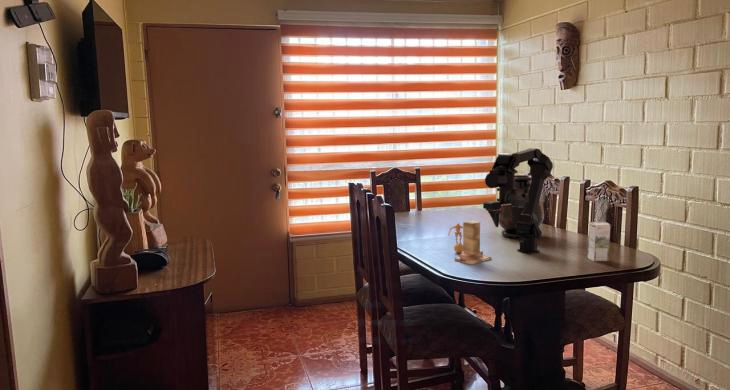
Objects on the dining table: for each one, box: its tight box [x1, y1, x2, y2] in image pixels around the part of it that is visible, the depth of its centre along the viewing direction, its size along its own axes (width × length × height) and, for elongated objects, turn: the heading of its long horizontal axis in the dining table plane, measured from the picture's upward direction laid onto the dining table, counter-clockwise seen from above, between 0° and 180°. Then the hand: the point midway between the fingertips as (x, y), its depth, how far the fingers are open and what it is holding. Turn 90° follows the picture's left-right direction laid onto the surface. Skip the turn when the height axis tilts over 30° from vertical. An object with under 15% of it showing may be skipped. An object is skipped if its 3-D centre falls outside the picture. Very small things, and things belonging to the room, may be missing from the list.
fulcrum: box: [454, 250, 492, 265], centre depth 209 cm, size 12×8×3 cm, turn 128°
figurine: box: [448, 223, 463, 254], centre depth 221 cm, size 8×6×12 cm
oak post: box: [462, 220, 481, 255], centre depth 208 cm, size 4×4×12 cm
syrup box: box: [587, 221, 611, 263], centre depth 205 cm, size 6×6×14 cm
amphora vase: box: [499, 174, 545, 240], centre depth 250 cm, size 22×22×28 cm
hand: (506, 225), depth 209 cm, fingers open, 9 cm apart
